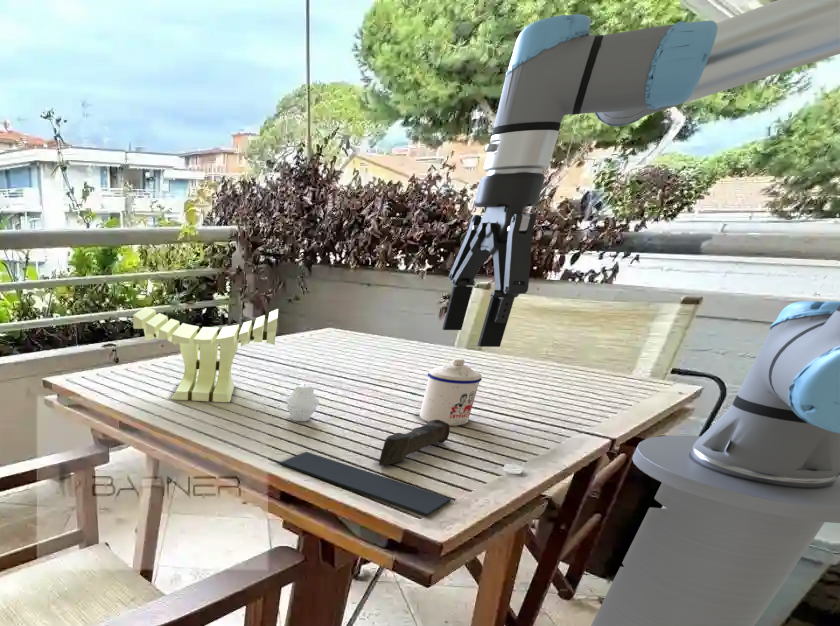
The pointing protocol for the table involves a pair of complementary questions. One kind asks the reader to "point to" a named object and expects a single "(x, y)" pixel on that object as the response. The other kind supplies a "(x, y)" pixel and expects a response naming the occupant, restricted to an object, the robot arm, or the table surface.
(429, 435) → the hand tool
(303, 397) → the white ribbed jar
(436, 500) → the edge strip
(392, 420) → the table surface
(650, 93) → the robot arm
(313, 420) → the table surface
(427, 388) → the teacup with lid
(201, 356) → the slatted curved stool
